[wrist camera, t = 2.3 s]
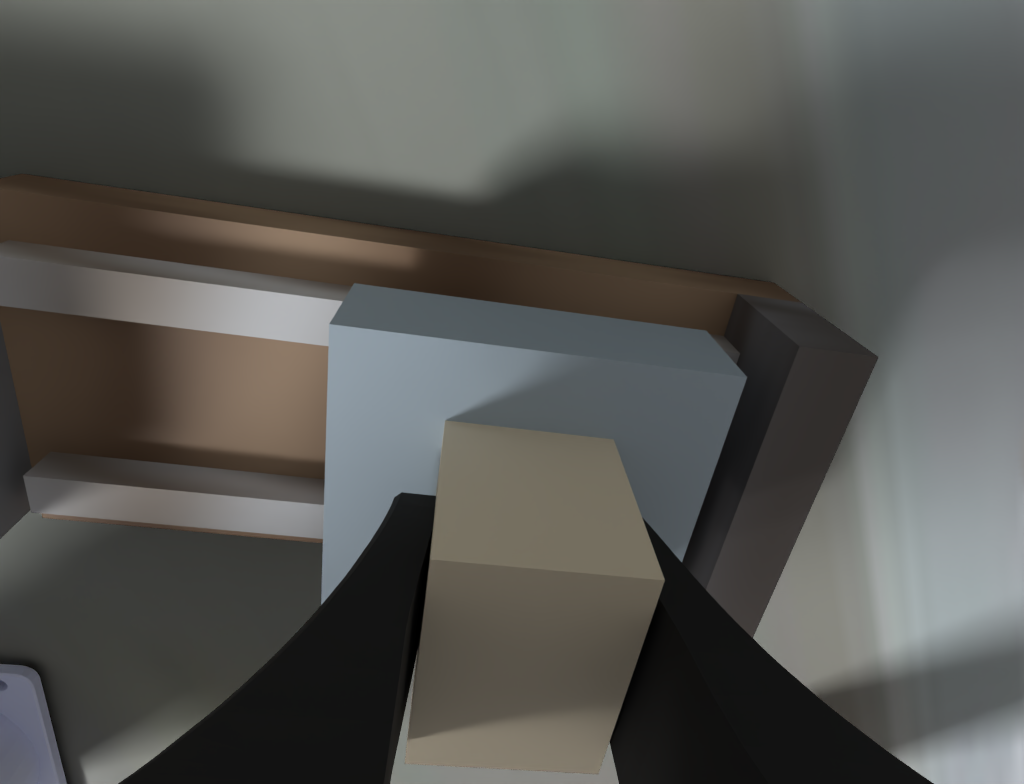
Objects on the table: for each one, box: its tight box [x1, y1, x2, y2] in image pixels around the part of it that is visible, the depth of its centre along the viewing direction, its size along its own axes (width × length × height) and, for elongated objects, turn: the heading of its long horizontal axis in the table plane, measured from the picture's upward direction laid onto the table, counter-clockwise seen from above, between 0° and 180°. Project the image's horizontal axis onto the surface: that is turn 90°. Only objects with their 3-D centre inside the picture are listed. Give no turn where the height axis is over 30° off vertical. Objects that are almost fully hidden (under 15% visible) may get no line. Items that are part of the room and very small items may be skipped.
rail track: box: [0, 174, 878, 638], centre depth 14 cm, size 17×8×4 cm, turn 81°
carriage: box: [321, 283, 747, 774], centre depth 11 cm, size 7×7×6 cm
